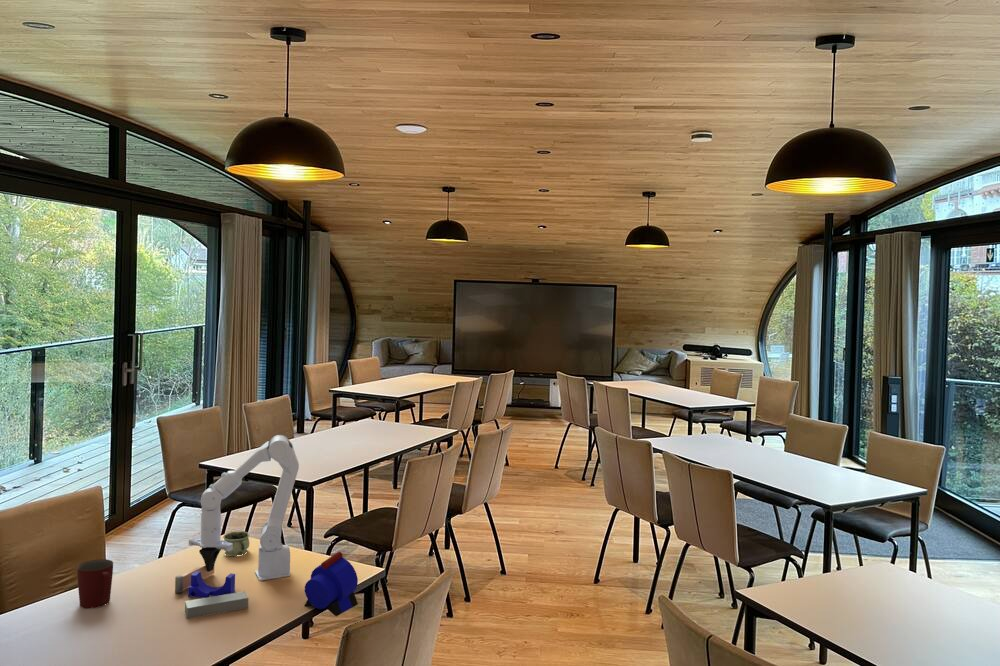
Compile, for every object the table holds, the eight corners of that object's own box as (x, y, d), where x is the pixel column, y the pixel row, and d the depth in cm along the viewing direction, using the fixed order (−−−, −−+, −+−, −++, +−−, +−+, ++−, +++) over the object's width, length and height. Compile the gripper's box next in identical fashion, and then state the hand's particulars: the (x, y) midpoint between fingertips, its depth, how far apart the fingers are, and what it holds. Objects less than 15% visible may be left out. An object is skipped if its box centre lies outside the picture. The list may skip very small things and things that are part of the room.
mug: (123, 605, 203) (124, 567, 203) (90, 616, 196) (91, 576, 196) (103, 593, 211) (104, 556, 210) (71, 603, 203) (71, 565, 203)
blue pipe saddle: (188, 597, 211) (188, 577, 211) (195, 590, 216) (195, 571, 215) (228, 599, 211) (228, 579, 210) (234, 593, 215) (235, 573, 215)
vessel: (257, 554, 247) (257, 536, 246) (233, 561, 240) (234, 542, 240) (238, 545, 254) (238, 528, 254) (214, 551, 247) (215, 533, 247)
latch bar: (210, 573, 228) (210, 559, 228) (215, 573, 228) (215, 560, 227) (173, 592, 213) (173, 577, 213) (179, 593, 212) (179, 578, 212)
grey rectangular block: (244, 601, 210) (244, 590, 209) (248, 608, 205) (248, 597, 205) (184, 611, 202) (184, 600, 201) (187, 618, 197) (187, 608, 197)
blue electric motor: (359, 603, 211) (361, 553, 210) (331, 619, 200) (332, 566, 200) (327, 594, 217) (329, 545, 216) (298, 609, 206) (299, 557, 205)
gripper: (182, 528, 222) (181, 571, 222) (222, 534, 218) (222, 578, 219) (197, 521, 228) (196, 563, 229) (237, 527, 225) (236, 570, 225)
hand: (210, 570), depth 224 cm, fingers closed
